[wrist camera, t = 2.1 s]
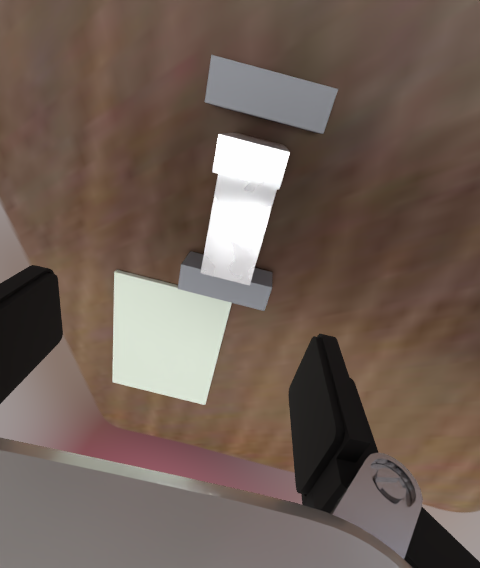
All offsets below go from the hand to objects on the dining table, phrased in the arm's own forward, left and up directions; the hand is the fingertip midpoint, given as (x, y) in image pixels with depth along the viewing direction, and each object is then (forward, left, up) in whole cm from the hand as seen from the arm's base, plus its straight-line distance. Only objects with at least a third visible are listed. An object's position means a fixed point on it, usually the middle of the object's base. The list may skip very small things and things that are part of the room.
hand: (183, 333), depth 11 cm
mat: (+4, +16, -17) cm, 24 cm away
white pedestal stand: (-1, -1, -17) cm, 17 cm away
